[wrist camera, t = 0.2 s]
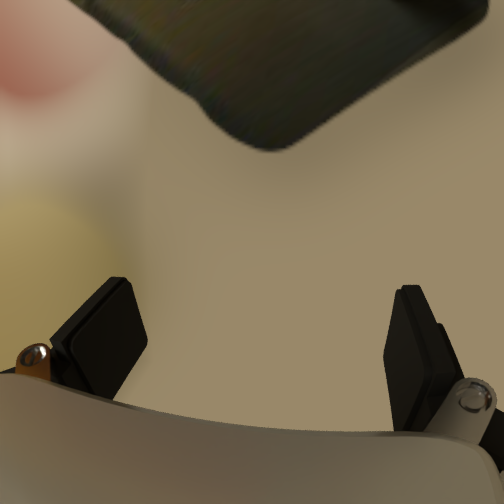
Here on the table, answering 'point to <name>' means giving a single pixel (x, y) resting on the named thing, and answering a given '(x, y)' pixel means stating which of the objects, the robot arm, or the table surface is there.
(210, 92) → the table surface
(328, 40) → the table surface
